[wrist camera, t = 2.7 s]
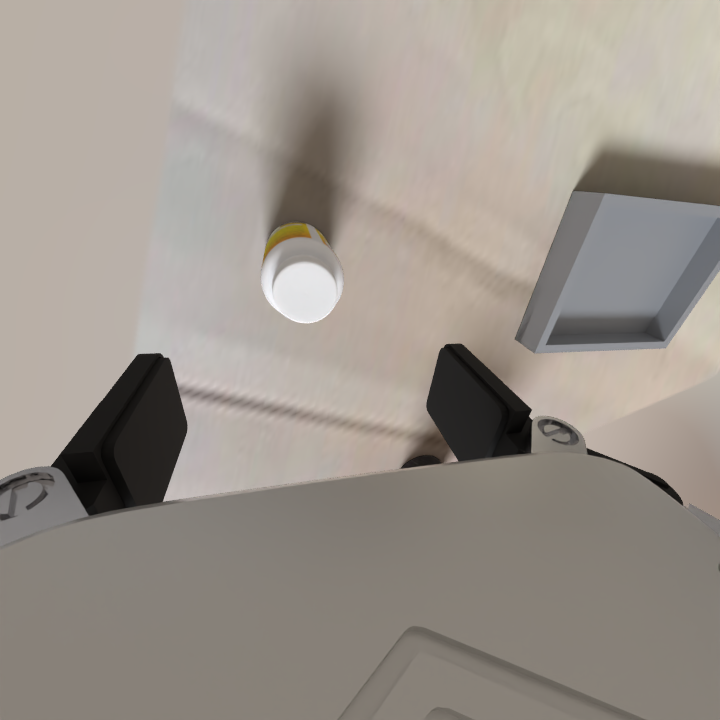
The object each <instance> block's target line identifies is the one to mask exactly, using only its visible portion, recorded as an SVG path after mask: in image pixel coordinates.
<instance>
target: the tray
mask: <svg viewBox="0 0 720 720" xmlns="http://www.w3.org/2000/svg"><path fill="white" fill-rule="evenodd" d="M719 270H720V206H715V205H706V204H697V203H688V202H679V201H670V200H661V199H652V198H643V197H634V196H625V195H616V194H607V193H594V192H581V191H573V192H572V195H571V198H570V200H569V203H568V205H567V208H566V210H565V213H564V215H563V218H562V220H561V223H560V226H559V228H558V231H557V233H556V236H555V238H554V241H553V243H552V246H551V249H550V251H549V254H548V256H547V259H546V261H545V264H544V266H543V269H542V271H541V274H540V277H539V279H538V282H537V284H536V287H535V289H534V292H533V294H532V297H531V299H530V302H529V305H528V307H527V310H526V312H525V315H524V317H523V320H522V322H521V325H520V328H519V330H518V333H517V335H516V338H515V339H516V340H517V341H518V342H520V343H521V344H522V345H524V346H525V347H527V348H528V349H529V350H531V351H532V352H533V353H555V352H581V351H608V350H634V349H660V348H666V347H667V346H668V344H669V343H670V341H671V340H672V338H673V337H674V335H675V334H676V333H677V331H678V330H679V328H680V327H681V325H682V324H683V322H684V321H685V320H686V318H687V317H688V315H689V314H690V312H691V311H692V309H693V308H694V307H695V305H696V304H697V302H698V301H699V299H700V298H701V296H702V295H703V294H704V292H705V291H706V289H707V288H708V286H709V285H710V283H711V282H712V280H713V279H714V278H715V276H716V275H717V273H718V272H719Z"/></svg>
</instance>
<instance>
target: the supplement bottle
mask: <svg viewBox="0 0 720 720" xmlns="http://www.w3.org/2000/svg"><path fill="white" fill-rule="evenodd" d="M261 284H262V289H263V292H264V294H265V296H266V298H267V300H268V301H269V302H270V304H271V305H272V306H273V307H274V308H275V309H276V310H277V311H279V312H280V313H282V314H283V315H284V316H286V317H287V318H289V319H291V320H293V321H295V322H300V323H312V322H316V321H319V320H321V319H323V318H324V317H326V316H327V315H328V314H329V313H330V312H331V311H332V309H333V308H334V306H335V305H336V303H337V302H338V300H339V298H340V296H341V294H342V291H343V287H344V273H343V269H342V266H341V263H340V261H339V259H338V257H337V256H336V254H335V253H334V251H333V250H332V248H331V246H330V245H329V243H328V242H327V240H326V239H325V237H324V236H323V235H322V233H321V232H320V231H318V230H317V229H316V228H315V227H313V226H311V225H309V224H306V223H303V222H289V223H285V224H283V225H281V226H279V227H278V228H276V229H275V230H274V231H273V232H272V234H271V235H270V237H269V239H268V241H267V244H266V247H265V253H264V258H263V264H262V269H261Z"/></svg>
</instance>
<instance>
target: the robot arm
mask: <svg viewBox="0 0 720 720" xmlns="http://www.w3.org/2000/svg"><path fill="white" fill-rule="evenodd" d="M427 411H428V413H429V414H430V416H431V418H432V419H433V421H434V422H435V424H436V426H437V427H438V429H439V430H440V432H441V434H442V435H443V437H444V439H445V440H446V442H447V443H448V445H449V447H450V448H451V450H452V451H453V453H454V455H455V456H456V458H457V459H458V461H459V462H451V463H443V464H435V465H427V466H419V467H411V468H404V469H396V470H389V471H381V472H374V473H366V474H358V475H351V476H344V477H336V478H329V479H321V480H314V481H307V482H299V483H292V484H285V485H278V486H271V487H263V488H256V489H249V490H242V491H235V492H227V493H220V494H213V495H206V496H200V497H193V498H186V499H179V500H172V501H166V502H163V499H164V496H165V493H166V491H167V488H168V485H169V482H170V479H171V476H172V473H173V471H174V468H175V465H176V462H177V459H178V456H179V454H180V451H181V448H182V445H183V442H184V439H185V436H186V433H187V420H186V417H185V413H184V409H183V406H182V402H181V398H180V394H179V391H178V387H177V383H176V380H175V376H174V372H173V369H172V365H171V362H170V359H169V358H164V357H163V356H162V354H160V353H156V354H138V355H137V356H136V357H135V359H134V360H133V361H132V363H131V364H130V365H129V366H128V368H127V369H126V370H125V372H124V373H123V374H122V376H121V377H120V378H119V379H118V381H117V382H116V384H115V385H114V386H113V387H112V389H111V390H110V391H109V392H108V394H107V395H106V396H105V398H104V399H103V400H102V401H101V402H100V403H99V405H98V406H97V407H96V408H95V410H94V411H93V412H92V414H91V415H90V416H89V418H88V419H87V420H86V422H85V423H84V424H83V425H82V427H81V428H80V429H79V430H78V432H77V433H76V434H75V436H74V437H73V438H72V440H71V441H70V442H69V443H68V445H67V446H66V447H65V449H64V450H63V451H62V452H61V454H60V455H59V456H58V458H57V459H56V460H55V462H54V463H53V464H52V465H51V467H49V466H48V467H35V468H31V469H26V470H23V471H20V472H17V473H15V474H12V475H9V476H7V477H5V478H3V479H1V480H0V720H720V520H719V519H717V518H715V517H713V516H712V515H710V514H708V513H706V512H704V511H702V510H701V509H699V508H697V507H695V506H693V505H692V504H688V505H687V506H686V507H685V506H683V502H682V500H681V498H680V497H679V495H678V494H677V493H676V492H675V491H674V489H673V488H671V487H670V486H669V485H668V484H667V483H666V482H665V481H664V480H663V479H661V478H660V477H658V476H656V475H654V474H652V473H649V472H646V471H643V470H641V469H638V468H636V467H633V466H631V465H628V464H626V463H623V462H621V461H618V460H616V459H613V458H610V457H608V456H605V455H603V454H600V453H598V452H595V451H593V450H590V449H588V448H586V444H585V440H584V438H583V436H582V434H581V433H580V432H579V431H578V430H577V429H576V428H574V427H573V426H572V425H570V424H568V423H567V422H565V421H563V420H560V419H558V418H554V417H550V416H538V417H536V418H534V419H533V420H532V419H531V418H530V417H529V415H530V413H531V411H532V409H531V408H529V407H528V406H527V405H526V404H525V403H524V402H523V401H522V400H521V399H520V398H519V397H518V396H517V395H516V394H515V393H514V392H512V391H511V390H510V389H509V388H508V387H507V386H506V385H505V384H504V383H503V382H502V381H501V380H500V379H499V378H498V377H497V376H495V375H494V374H493V373H492V372H491V371H490V370H489V369H488V368H487V367H486V366H485V365H484V364H483V363H482V362H481V361H480V360H478V359H477V358H476V357H475V356H474V355H473V354H472V353H471V352H470V351H469V350H468V349H467V348H466V347H465V346H464V345H462V344H446V345H445V346H444V348H441V350H440V352H439V356H438V360H437V364H436V367H435V371H434V375H433V379H432V383H431V387H430V391H429V395H428V399H427Z"/></svg>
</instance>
